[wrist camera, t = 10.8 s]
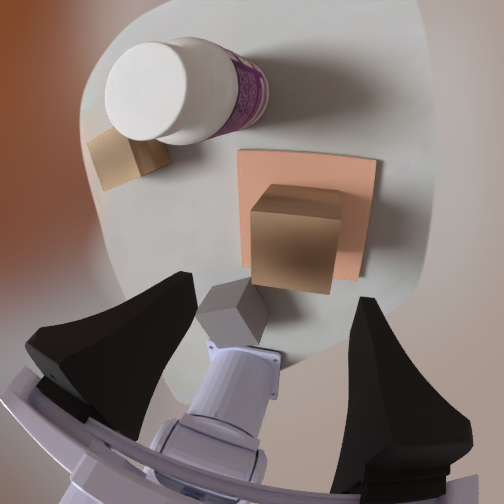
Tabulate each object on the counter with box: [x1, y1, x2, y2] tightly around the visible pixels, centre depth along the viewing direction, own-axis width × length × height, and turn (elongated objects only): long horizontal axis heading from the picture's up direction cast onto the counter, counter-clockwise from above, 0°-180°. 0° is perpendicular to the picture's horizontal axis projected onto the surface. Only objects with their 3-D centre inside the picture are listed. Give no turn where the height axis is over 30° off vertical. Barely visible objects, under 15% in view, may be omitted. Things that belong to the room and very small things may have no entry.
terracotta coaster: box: [237, 149, 376, 281], centre depth 19 cm, size 9×9×1 cm
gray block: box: [195, 277, 270, 349], centre depth 23 cm, size 4×4×4 cm
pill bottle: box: [105, 37, 269, 145], centre depth 12 cm, size 5×5×10 cm
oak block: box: [87, 126, 171, 192], centre depth 18 cm, size 4×4×4 cm
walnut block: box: [250, 184, 341, 295], centre depth 16 cm, size 4×4×5 cm
